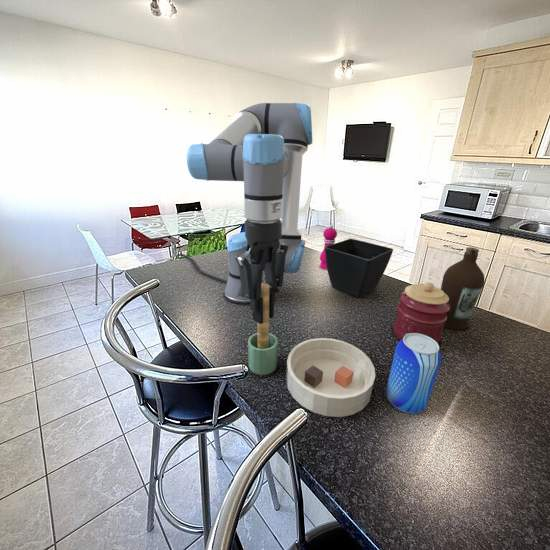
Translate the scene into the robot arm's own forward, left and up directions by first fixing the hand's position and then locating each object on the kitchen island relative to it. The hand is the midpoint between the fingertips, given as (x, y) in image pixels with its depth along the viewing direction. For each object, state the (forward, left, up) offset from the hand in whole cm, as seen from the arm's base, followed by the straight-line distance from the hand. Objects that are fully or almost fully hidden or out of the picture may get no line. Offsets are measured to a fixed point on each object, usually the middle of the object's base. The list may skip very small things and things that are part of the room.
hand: (263, 318), depth 68 cm
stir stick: (0, 0, -9) cm, 9 cm away
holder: (0, 0, -14) cm, 14 cm away
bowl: (+15, +7, -14) cm, 22 cm away
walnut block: (+13, +4, -14) cm, 19 cm away
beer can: (+30, +15, -14) cm, 37 cm away
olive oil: (+27, +58, -14) cm, 65 cm away
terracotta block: (+18, +9, -14) cm, 24 cm away
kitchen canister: (+22, +42, -14) cm, 49 cm away
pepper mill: (-28, +67, -14) cm, 74 cm away
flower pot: (-8, +57, -14) cm, 59 cm away
